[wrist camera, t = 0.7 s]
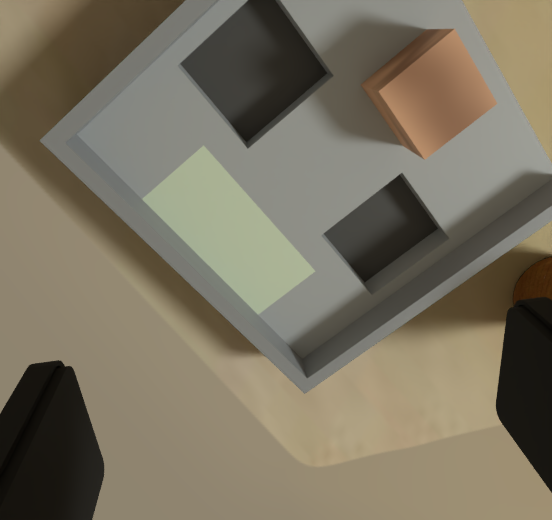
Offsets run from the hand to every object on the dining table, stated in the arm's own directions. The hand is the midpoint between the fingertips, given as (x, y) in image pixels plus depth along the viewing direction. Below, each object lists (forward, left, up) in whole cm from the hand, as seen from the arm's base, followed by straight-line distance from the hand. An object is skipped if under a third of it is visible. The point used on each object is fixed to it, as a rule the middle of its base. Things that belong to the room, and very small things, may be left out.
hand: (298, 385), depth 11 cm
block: (-11, +4, -24) cm, 26 cm away
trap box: (-4, +4, -26) cm, 27 cm away
